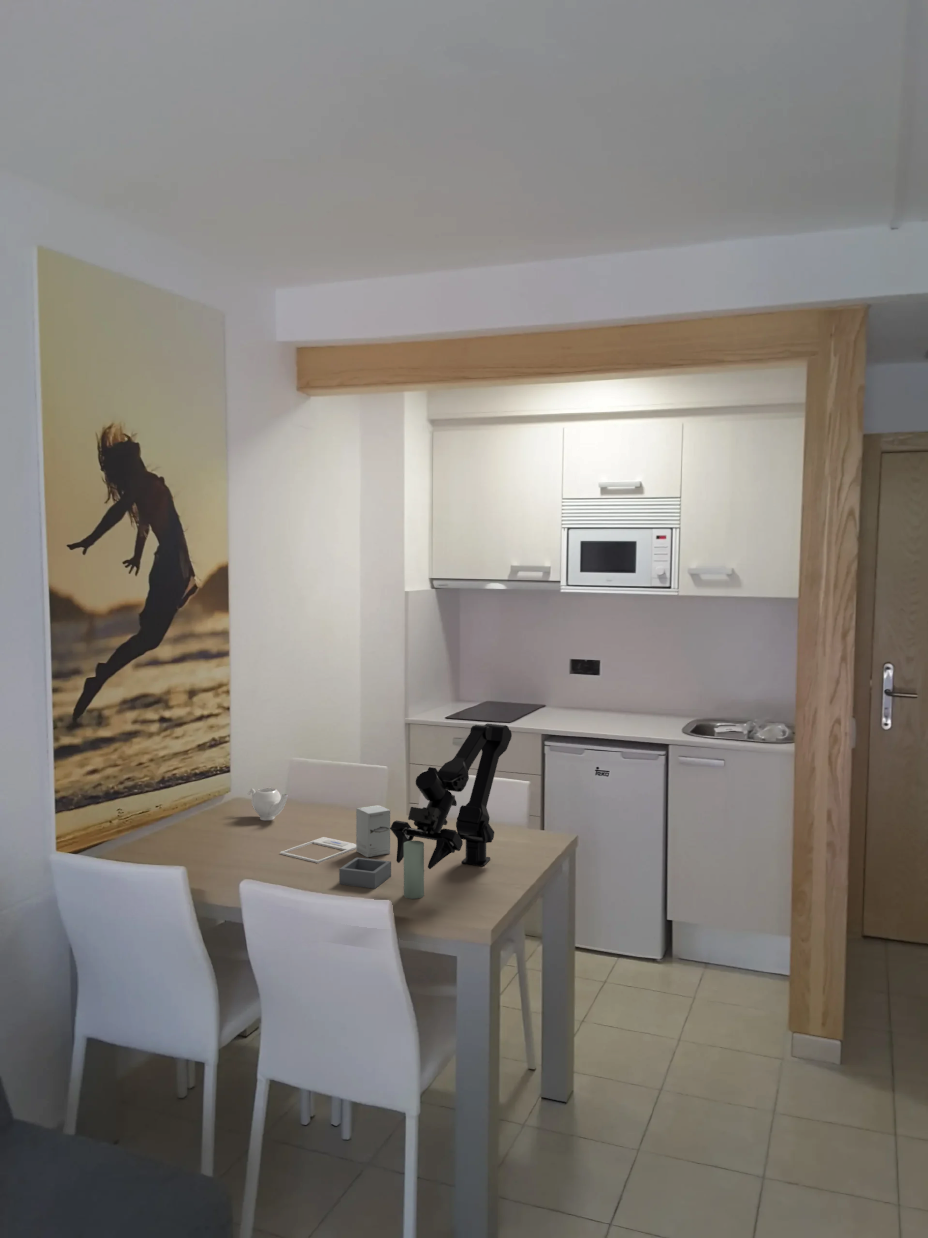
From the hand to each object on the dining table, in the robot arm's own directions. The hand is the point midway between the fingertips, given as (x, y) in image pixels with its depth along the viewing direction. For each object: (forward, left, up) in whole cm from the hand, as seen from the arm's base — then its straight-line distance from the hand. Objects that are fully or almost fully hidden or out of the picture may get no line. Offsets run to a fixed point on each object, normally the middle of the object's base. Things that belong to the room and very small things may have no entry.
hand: (413, 865), depth 239 cm
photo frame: (-25, -39, -8) cm, 47 cm away
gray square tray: (-6, -16, -8) cm, 19 cm away
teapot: (-49, -71, -8) cm, 87 cm away
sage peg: (0, 0, -8) cm, 8 cm away
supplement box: (-28, -24, -8) cm, 38 cm away
